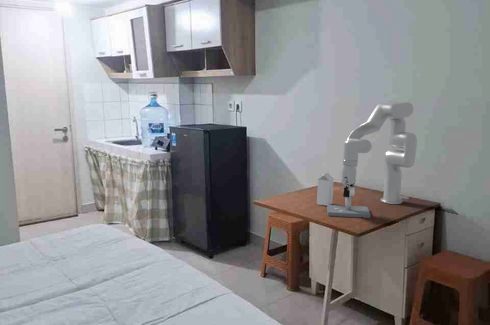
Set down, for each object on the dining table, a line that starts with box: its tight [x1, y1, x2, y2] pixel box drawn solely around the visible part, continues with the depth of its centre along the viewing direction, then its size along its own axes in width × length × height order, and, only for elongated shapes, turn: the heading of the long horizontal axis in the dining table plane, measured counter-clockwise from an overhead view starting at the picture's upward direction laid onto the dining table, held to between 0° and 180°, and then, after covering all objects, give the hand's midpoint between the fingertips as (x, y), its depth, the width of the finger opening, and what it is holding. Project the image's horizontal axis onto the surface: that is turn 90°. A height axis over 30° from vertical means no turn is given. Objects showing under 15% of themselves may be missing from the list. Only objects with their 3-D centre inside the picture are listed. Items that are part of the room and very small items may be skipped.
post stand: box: [326, 196, 372, 219], centre depth 233 cm, size 22×15×10 cm
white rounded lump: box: [342, 185, 356, 197], centre depth 232 cm, size 6×6×5 cm
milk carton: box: [316, 171, 334, 207], centre depth 250 cm, size 7×7×19 cm
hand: (348, 195), depth 232 cm, fingers closed on white rounded lump, 6 cm apart
